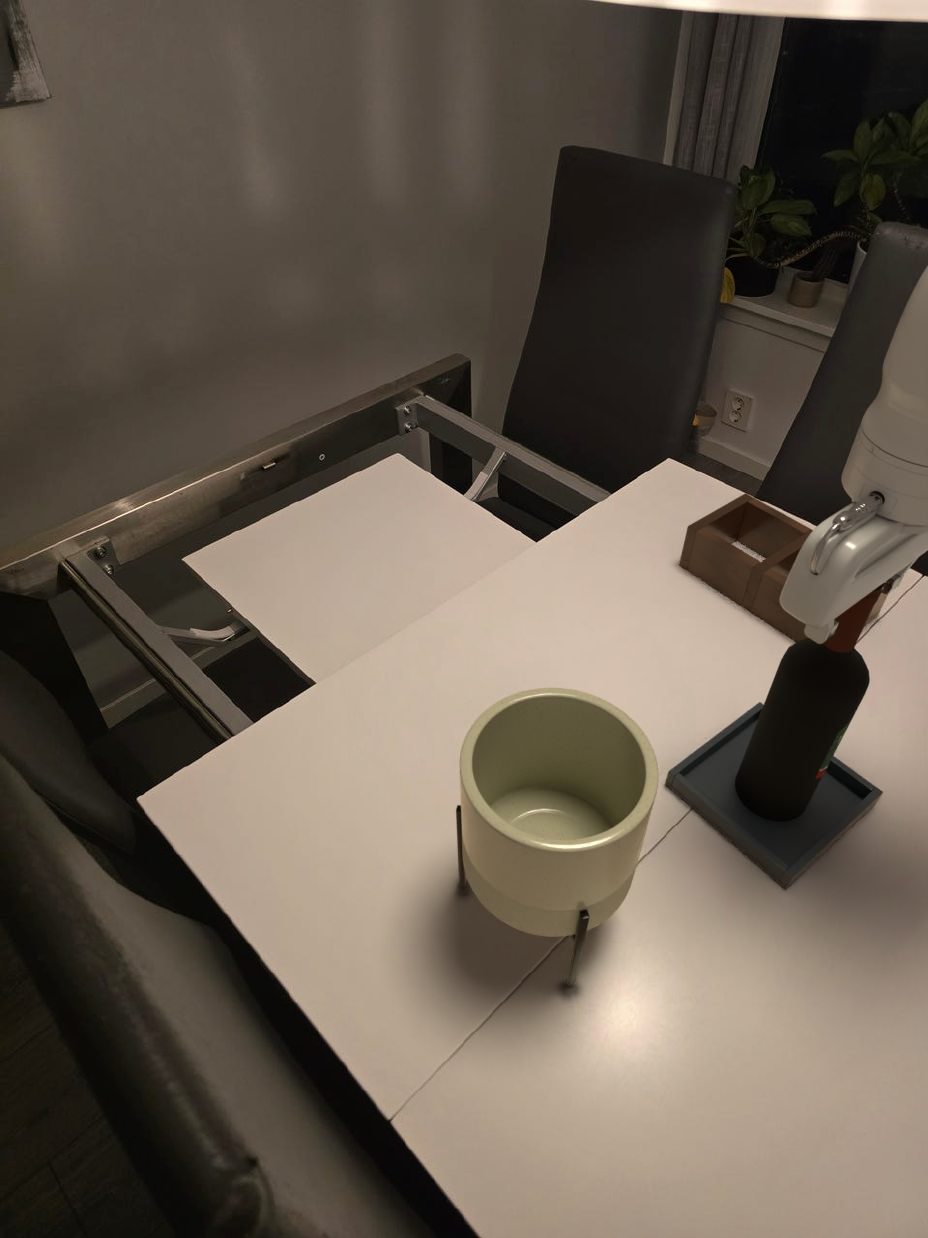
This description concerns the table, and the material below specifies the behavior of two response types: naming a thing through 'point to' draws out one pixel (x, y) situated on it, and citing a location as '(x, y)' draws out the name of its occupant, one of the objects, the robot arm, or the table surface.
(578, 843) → the planter
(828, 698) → the wine bottle
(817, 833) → the tray
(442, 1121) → the table surface
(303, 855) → the table surface
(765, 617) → the divided storage box
